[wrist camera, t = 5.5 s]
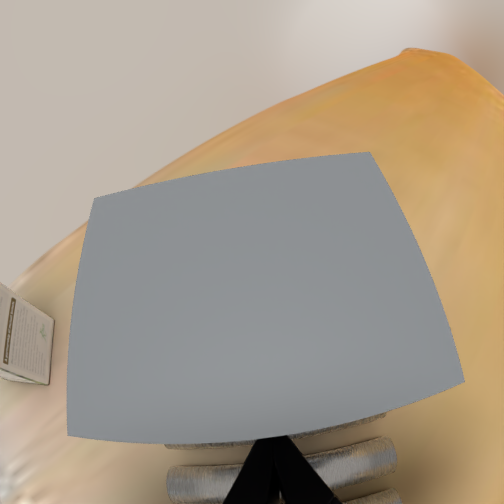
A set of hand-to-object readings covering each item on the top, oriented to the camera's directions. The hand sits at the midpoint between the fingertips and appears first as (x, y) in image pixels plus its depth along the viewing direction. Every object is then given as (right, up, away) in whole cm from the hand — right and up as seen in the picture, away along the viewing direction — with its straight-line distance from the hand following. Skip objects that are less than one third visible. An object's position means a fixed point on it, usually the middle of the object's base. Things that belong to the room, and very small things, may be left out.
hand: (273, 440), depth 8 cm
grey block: (0, +1, +7) cm, 7 cm away
